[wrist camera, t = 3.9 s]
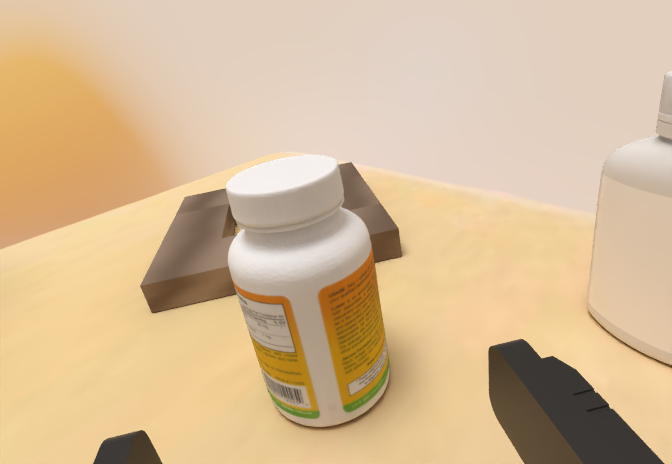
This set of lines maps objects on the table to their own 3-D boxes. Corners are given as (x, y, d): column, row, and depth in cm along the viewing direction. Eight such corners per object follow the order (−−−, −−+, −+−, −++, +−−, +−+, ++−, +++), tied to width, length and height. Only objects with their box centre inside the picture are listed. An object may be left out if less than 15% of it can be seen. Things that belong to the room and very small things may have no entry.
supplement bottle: (379, 330, 21) (350, 139, 17) (403, 417, 16) (370, 181, 12) (273, 349, 21) (218, 164, 17) (266, 443, 16) (186, 215, 12)
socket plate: (152, 312, 26) (140, 285, 25) (191, 216, 41) (185, 197, 40) (401, 256, 27) (398, 228, 27) (354, 181, 42) (351, 162, 41)
